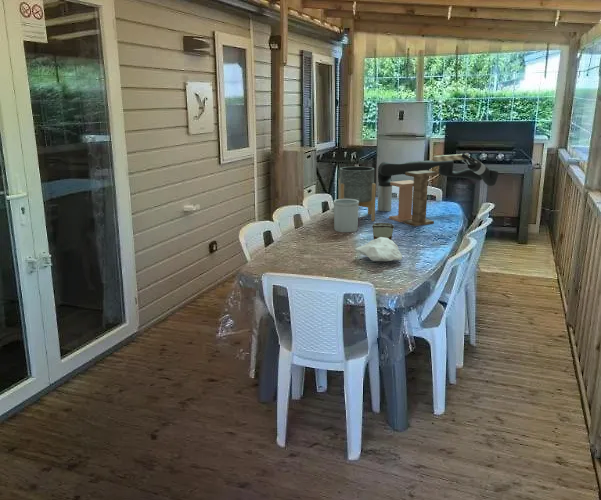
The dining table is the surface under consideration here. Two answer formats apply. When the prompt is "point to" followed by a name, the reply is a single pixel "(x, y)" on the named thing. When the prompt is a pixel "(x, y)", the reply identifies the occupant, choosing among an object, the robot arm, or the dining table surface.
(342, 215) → the utensil holder
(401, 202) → the terracotta base stand
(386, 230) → the food container
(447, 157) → the beech bar
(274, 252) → the dining table surface
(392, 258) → the crumpled cloth
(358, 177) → the planter
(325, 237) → the dining table surface
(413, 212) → the walnut base stand
